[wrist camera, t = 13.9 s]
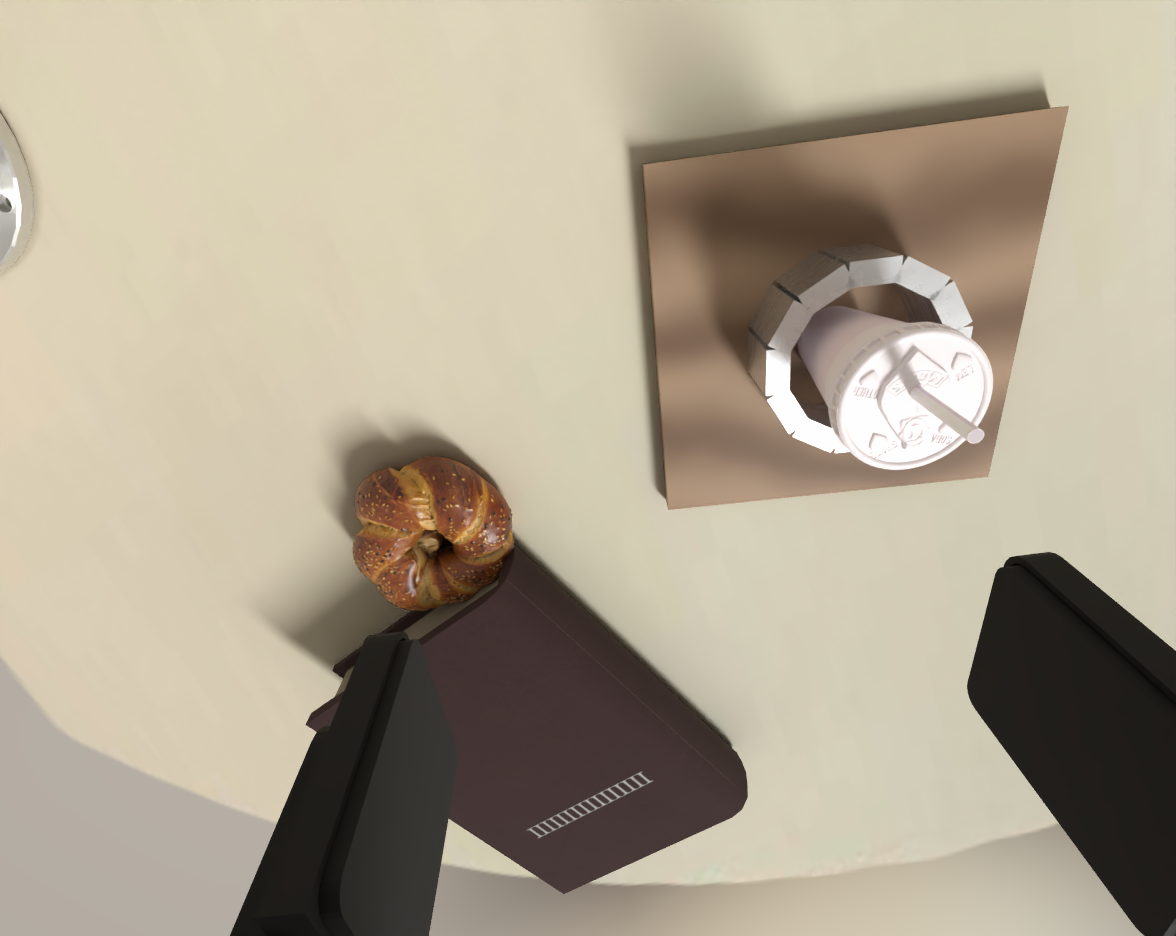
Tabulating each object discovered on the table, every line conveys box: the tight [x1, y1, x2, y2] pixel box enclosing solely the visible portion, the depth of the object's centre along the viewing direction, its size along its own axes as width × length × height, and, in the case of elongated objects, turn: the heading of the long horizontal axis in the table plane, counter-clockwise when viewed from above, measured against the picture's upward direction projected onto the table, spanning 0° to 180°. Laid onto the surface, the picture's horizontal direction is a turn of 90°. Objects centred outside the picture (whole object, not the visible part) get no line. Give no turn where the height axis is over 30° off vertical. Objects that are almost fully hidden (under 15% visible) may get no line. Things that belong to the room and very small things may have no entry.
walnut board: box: [642, 106, 1069, 510], centre depth 34 cm, size 20×20×1 cm
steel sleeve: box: [747, 244, 973, 453], centre depth 31 cm, size 10×10×4 cm
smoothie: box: [798, 306, 993, 470], centre depth 27 cm, size 6×6×14 cm
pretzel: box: [353, 457, 515, 611], centre depth 39 cm, size 12×11×4 cm
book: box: [306, 544, 748, 894], centre depth 47 cm, size 28×20×6 cm
